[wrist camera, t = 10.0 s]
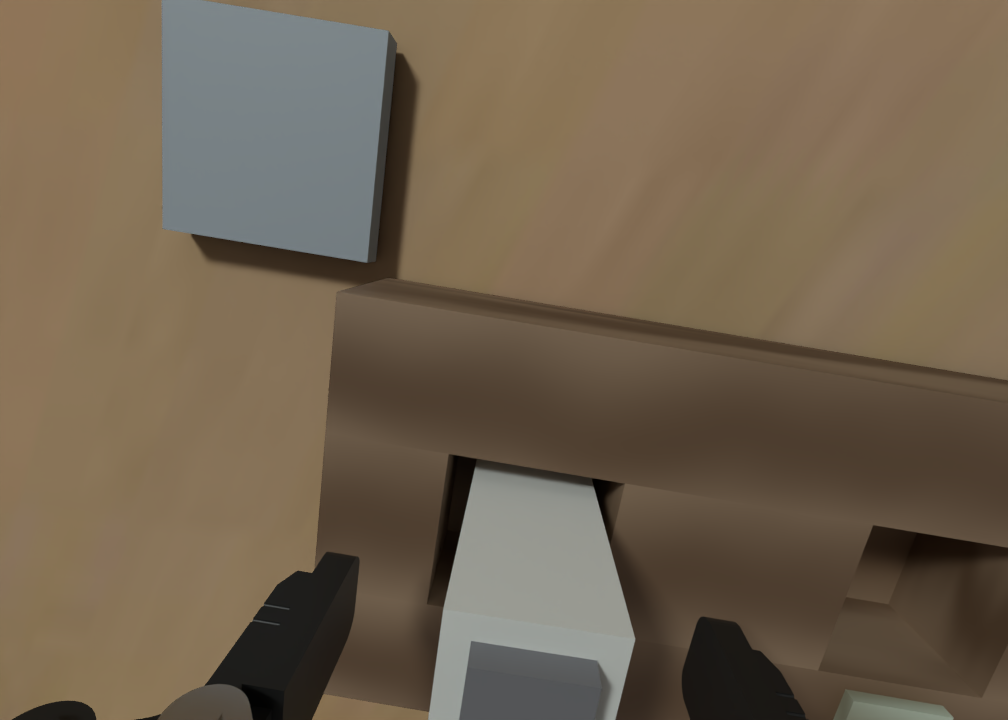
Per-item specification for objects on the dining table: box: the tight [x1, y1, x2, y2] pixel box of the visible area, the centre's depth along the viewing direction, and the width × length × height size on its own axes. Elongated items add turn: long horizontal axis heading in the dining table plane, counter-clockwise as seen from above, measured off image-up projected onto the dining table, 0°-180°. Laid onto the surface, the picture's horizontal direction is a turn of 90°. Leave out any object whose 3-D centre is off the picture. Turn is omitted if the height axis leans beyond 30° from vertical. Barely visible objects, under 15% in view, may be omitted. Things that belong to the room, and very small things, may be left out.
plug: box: [428, 459, 635, 720], centre depth 14 cm, size 4×4×10 cm
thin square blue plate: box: [162, 0, 397, 263], centre depth 16 cm, size 7×7×1 cm
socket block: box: [315, 278, 1008, 720], centre depth 17 cm, size 13×24×5 cm, turn 81°
